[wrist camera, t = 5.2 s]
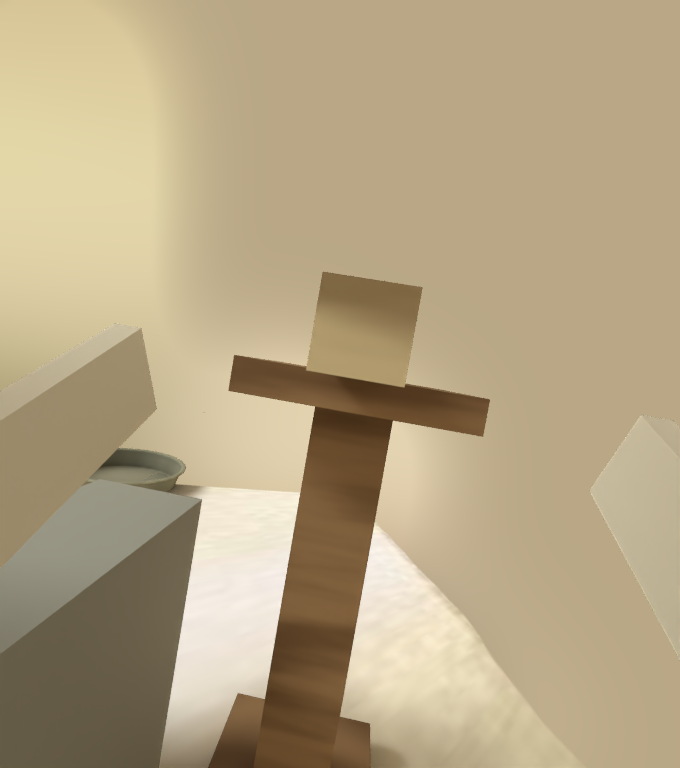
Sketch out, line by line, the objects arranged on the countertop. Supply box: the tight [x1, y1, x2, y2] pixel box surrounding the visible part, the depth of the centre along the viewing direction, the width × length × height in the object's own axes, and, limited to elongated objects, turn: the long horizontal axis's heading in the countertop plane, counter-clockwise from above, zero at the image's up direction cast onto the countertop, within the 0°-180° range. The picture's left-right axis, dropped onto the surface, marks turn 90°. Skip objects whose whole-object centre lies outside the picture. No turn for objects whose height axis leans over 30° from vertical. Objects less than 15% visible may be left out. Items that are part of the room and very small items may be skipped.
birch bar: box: [306, 272, 422, 387], centre depth 23 cm, size 24×3×3 cm, turn 176°
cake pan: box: [82, 448, 186, 492], centre depth 82 cm, size 25×25×4 cm
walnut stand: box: [208, 355, 490, 768], centre depth 27 cm, size 12×14×32 cm
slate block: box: [0, 479, 202, 768], centre depth 20 cm, size 17×8×21 cm, turn 176°
